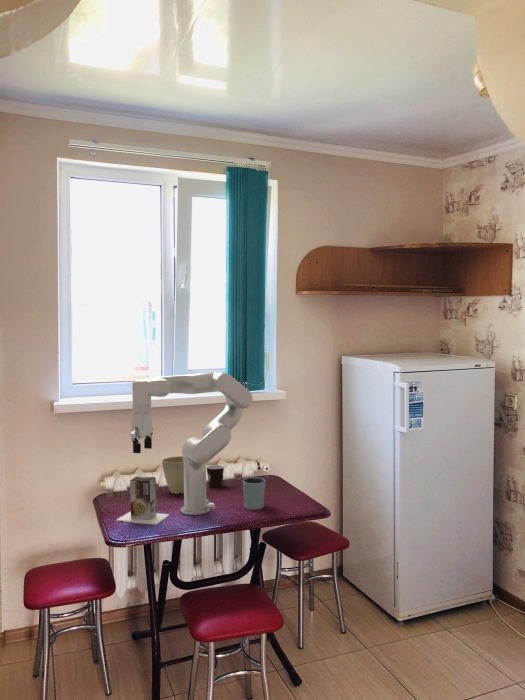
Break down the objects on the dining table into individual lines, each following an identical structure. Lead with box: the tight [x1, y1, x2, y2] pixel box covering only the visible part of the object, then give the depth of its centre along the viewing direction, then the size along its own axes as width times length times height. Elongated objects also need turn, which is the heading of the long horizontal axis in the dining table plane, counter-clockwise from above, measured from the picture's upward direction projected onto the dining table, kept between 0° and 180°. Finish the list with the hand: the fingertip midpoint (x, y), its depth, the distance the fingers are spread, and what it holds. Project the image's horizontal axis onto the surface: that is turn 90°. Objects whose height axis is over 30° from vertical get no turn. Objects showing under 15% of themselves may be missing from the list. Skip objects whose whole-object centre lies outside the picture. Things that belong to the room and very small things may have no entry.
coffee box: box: [129, 476, 157, 520], centre depth 239 cm, size 9×6×16 cm
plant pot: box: [161, 455, 184, 495], centre depth 279 cm, size 15×15×16 cm
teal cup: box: [242, 476, 266, 511], centre depth 254 cm, size 10×10×12 cm
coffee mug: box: [206, 464, 225, 489], centre depth 286 cm, size 12×9×10 cm
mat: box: [116, 510, 170, 526], centre depth 239 cm, size 18×12×1 cm, turn 74°
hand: (142, 450), depth 238 cm, fingers open, 9 cm apart
